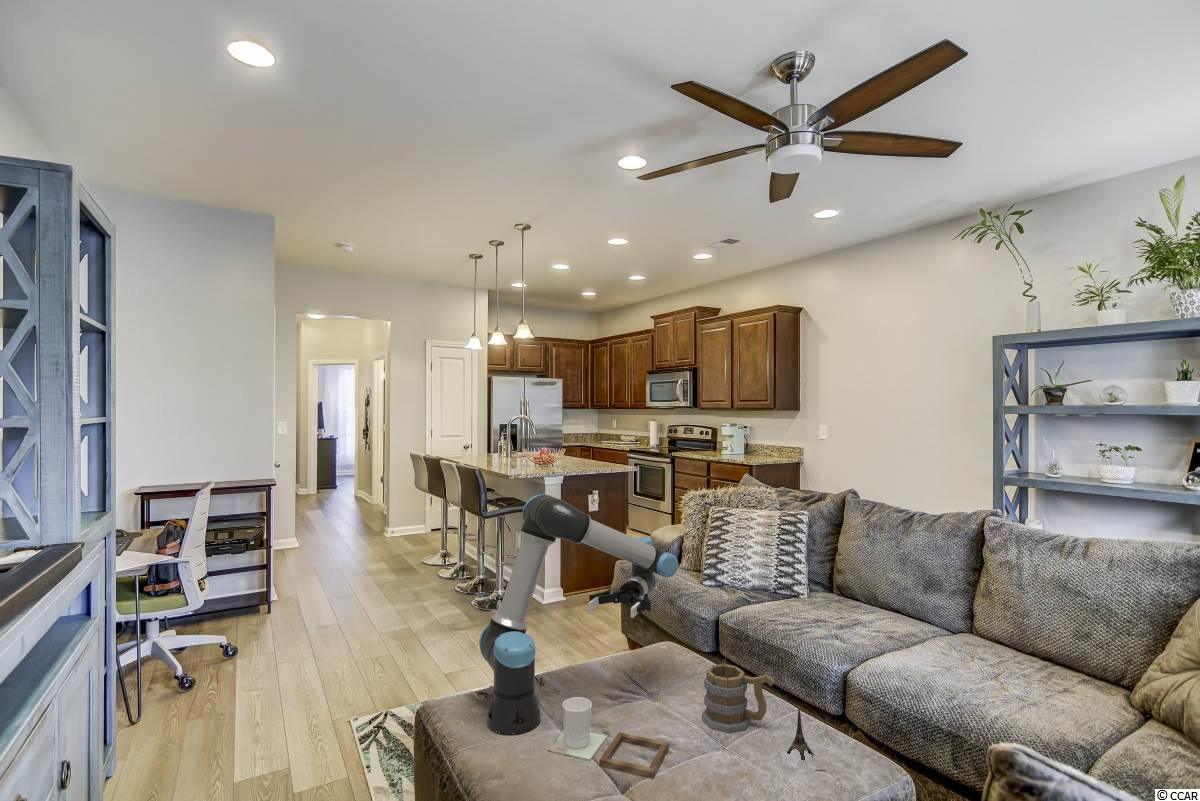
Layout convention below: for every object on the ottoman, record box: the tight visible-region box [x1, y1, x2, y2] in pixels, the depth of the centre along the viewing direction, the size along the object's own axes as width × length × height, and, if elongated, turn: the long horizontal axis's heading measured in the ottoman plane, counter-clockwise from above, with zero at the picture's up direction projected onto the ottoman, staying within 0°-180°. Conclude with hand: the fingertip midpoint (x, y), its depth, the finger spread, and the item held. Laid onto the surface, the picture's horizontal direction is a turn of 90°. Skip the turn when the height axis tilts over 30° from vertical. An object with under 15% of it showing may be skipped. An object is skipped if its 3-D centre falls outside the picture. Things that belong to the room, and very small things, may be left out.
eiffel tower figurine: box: [786, 706, 826, 772], centre depth 151 cm, size 15×10×13 cm
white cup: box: [561, 696, 593, 749], centre depth 156 cm, size 8×8×10 cm
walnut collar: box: [598, 731, 670, 779], centre depth 149 cm, size 14×14×2 cm
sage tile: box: [556, 731, 608, 762], centre depth 155 cm, size 12×12×1 cm
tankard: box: [701, 663, 775, 733], centre depth 166 cm, size 20×13×15 cm, turn 62°
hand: (610, 610), depth 173 cm, fingers open, 13 cm apart
